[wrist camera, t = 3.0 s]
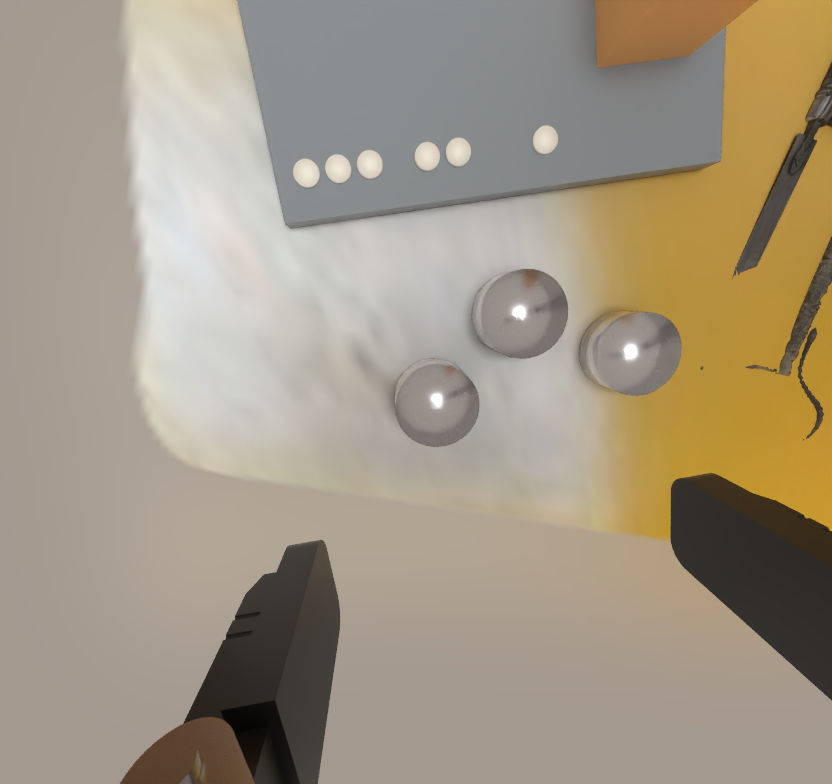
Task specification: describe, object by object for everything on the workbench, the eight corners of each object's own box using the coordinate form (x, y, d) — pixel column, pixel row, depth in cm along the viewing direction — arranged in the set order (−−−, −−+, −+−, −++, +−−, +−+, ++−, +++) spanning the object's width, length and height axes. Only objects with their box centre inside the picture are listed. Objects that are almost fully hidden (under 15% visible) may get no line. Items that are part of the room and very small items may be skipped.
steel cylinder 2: (545, 267, 22) (565, 262, 19) (550, 345, 23) (570, 350, 20) (467, 279, 21) (477, 276, 19) (476, 358, 22) (487, 364, 20)
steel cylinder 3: (650, 305, 22) (682, 306, 20) (650, 379, 23) (680, 388, 21) (576, 317, 22) (599, 319, 20) (579, 391, 23) (602, 401, 21)
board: (708, -63, 18) (733, -92, 17) (702, 168, 21) (724, 159, 19) (241, -6, 18) (229, -32, 16) (290, 228, 20) (283, 223, 19)
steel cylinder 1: (464, 352, 22) (474, 358, 20) (473, 425, 23) (483, 439, 21) (388, 364, 22) (389, 372, 20) (401, 436, 23) (402, 452, 21)
